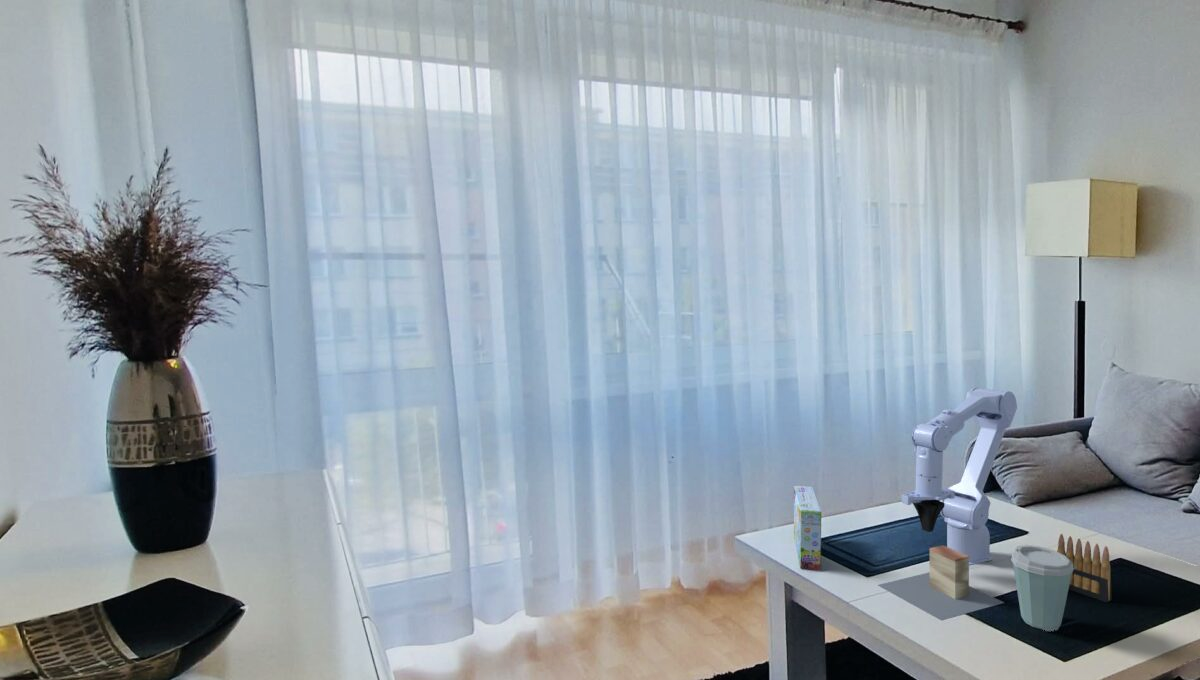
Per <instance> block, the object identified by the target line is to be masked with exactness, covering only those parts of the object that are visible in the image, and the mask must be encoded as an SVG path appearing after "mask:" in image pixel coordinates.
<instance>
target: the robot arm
mask: <svg viewBox="0 0 1200 680" xmlns="http://www.w3.org/2000/svg"><path fill="white" fill-rule="evenodd" d="M1017 409H1018V404H1017V399H1016V396H1015V394H1014V393H1013V392H1012V391H1007V390H1006V391H1005V390H994V389H988V388H987V389H986V388H980V387H976V386H975V387H972V388H971V389H970V390H969V391H967V393H966V396H965V400H964V401H962V402H961V403H960V404H959V405H957V407H956V408H954V409H953V410H952V409H943V410H942V411H941V413H939V414H938V415H937V416H935V417H934V418H932V419H930V420H929V421H928V422H926V423H920V424H918V425H915V427H914V428H913V430H912V434H911V436H910V441H911V443H912V445H913V453H914V454H915V455H916V458H915V459H916V461H915V490H912V491H911V492H908V493H905V494H901V503H902V504H904V505H907V506H910V505H912V504H913V507H914V509H915V510H916V513H917V515H918V518H919V521H920V522H919V523H920V524H921V530H922V531H925V532H927V533H930V532H934V529H935V526H936V523H937V521H938V518H939V515H940V516H941V517H942V518H944V519H943V521H944V522H945V523H946V524H947V525H946V530H947V531H946V534H947V535H946V536H947V537H946V547H948V548H951V549H953V550H955V551H958V552H960V553H962V554H965V555H967V556H969V566H972V565H977V564H980V563H986V562H989V561H993V559H994V558H993V557H991V555H990V545H991V543H990V542H991V541H990V540H991V539H990V538H991V536H990V531H989V528H988V527H987V525H986V523H987V522H988V519H989V515H990V513H989V512H990V506H991V501H990V499H989V498H988V496H987V495H986V493H984V488H985V485H986V483H987V480H988V477H989V475H990V472H991V470H992V467H993V465H994V462H995V458H996V456H997V453H998V451H999V448H1000V445H1001V443H1002V440H1003V437H1004V435H1005V432H1006V429H1007V428H1008V429H1009V428H1010V427H1011V425H1012V422H1013V419H1014V417H1015V415H1016V411H1017ZM971 418H972V419H973V420H974V422H975V423H977V424H978V425H979V426H980V430H979V432H978V434H977V437H976V440H975V443H974V445H973V448H972V451H971V453H970V456H969V459H968V461H967V464H966V466H965V469H964V472H963V474H962V477H961V480H960V482H959V483H956V484H953V485H951V486H949V487H948V488H943V471H944V470H943V468H944V467H943V465H944V451H945V450H947V448H948V446H949V443H950V442H951V441H952V439H953V437H954V436H955V435H957V434H958V433H959V432H961V431H962V430H963V429H964V428H965V422H967V421H968V420H970V419H971Z"/></svg>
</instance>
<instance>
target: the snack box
mask: <svg viewBox="0 0 1200 680" xmlns="http://www.w3.org/2000/svg"><path fill="white" fill-rule="evenodd" d="M793 539H794V544H795V547H796V553H797V559H798V563H799V564H798V565H799V568H800V569H807V570H821V568H822V567H821V566H822V565H821V563H822V561H821V560H822V558H821V557H822V510H821V506H820V503H819V500H818V498H817V495H816V493H815V489H814V487H813V486H809V485H808V486H806V485H805V486H804V485H794V486H793Z"/></svg>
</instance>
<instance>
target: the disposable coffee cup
mask: <svg viewBox="0 0 1200 680" xmlns="http://www.w3.org/2000/svg"><path fill="white" fill-rule="evenodd" d="M1010 560H1011V563H1012V566H1013V571H1014V578H1015V579H1014V580H1015V586H1016V591H1017V597H1018V602H1019V603H1018V604H1019V610H1020V617H1021V619H1022V620H1023V621H1024V622H1025V624H1027V625H1029V626H1031V627H1033V628H1035V629H1041V630H1043V631H1042V632H1051V631H1052V632H1055V631H1058V630H1059V628H1060V627H1061V625H1062V621H1063V617H1064V612H1065V607H1066V604H1067V598H1068V593H1069V584H1070V579H1071V575H1072V572H1073V570H1074V568H1073V563H1072V562H1071V561H1070V560H1069V559H1068V558H1067V557H1066V556H1065V555H1063V554H1061V553H1058V552H1057V550H1053V549H1051V548H1046V547H1043V546H1037V545H1030V544H1024V545H1023V544H1022V545H1017V546H1016V547H1015V548H1014V551H1013V553H1012V554H1011V558H1010ZM1044 630H1045V631H1044ZM1054 630H1055V631H1054Z"/></svg>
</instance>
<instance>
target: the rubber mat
mask: <svg viewBox="0 0 1200 680" xmlns="http://www.w3.org/2000/svg"><path fill="white" fill-rule="evenodd" d="M877 586H878V587H879V588H882V589H884V590H885V591H887V592H889V593H891V594H892V595H895V596H896V597H898V598H899V599H902V600H903V601H905V602H907V603H909V604H910V605H912V606H914V607H916V608H918V609H919V610H921V611H924V612H925V613H926V614H929V615H930V616H931V617H934V618H935V619H938V620H940V621H944V620H947V619H951V618H954V617H959V616H962V615H966V614H969V613H972V612H973V613H974V612H978V611H980V610H983V609H987V608H991V607H995V606H998V605H1001V604H1002V605H1003V604H1005V601H1002V600H1000V599H998V598H996V597H993V596H991V595H990V594H987V593H985V592H982V591H981V590H979V589H977V588H975V587H972V586H970V585H969V596H965V597H962V598H958V599H954V598H952V597H950V596H948V595H946V594H944V593H942V592H940V591H938V590H936V589H934V588H932V587H930V571H929V572H925V573H921V574H917V575H913V576H908V577H904V578H901V579H897V580H896V579H895V580H892V581H888V582H885V583H880V584H877Z"/></svg>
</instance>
